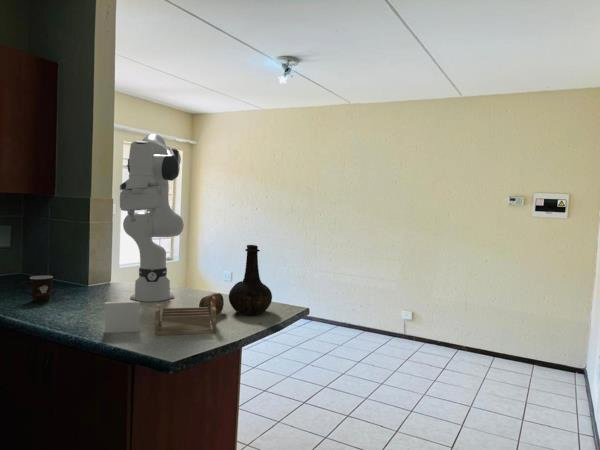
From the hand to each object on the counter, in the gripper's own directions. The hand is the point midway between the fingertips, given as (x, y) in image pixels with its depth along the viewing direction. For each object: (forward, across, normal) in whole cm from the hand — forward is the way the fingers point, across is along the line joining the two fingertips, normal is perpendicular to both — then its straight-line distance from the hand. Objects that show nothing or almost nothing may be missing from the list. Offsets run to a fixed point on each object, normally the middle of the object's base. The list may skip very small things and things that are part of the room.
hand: (141, 222), depth 164 cm
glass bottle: (+37, -20, -38) cm, 57 cm away
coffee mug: (+32, +62, +4) cm, 70 cm away
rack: (+38, -17, -6) cm, 42 cm away
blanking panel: (+38, -2, +9) cm, 39 cm away
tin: (+37, -11, -25) cm, 46 cm away
